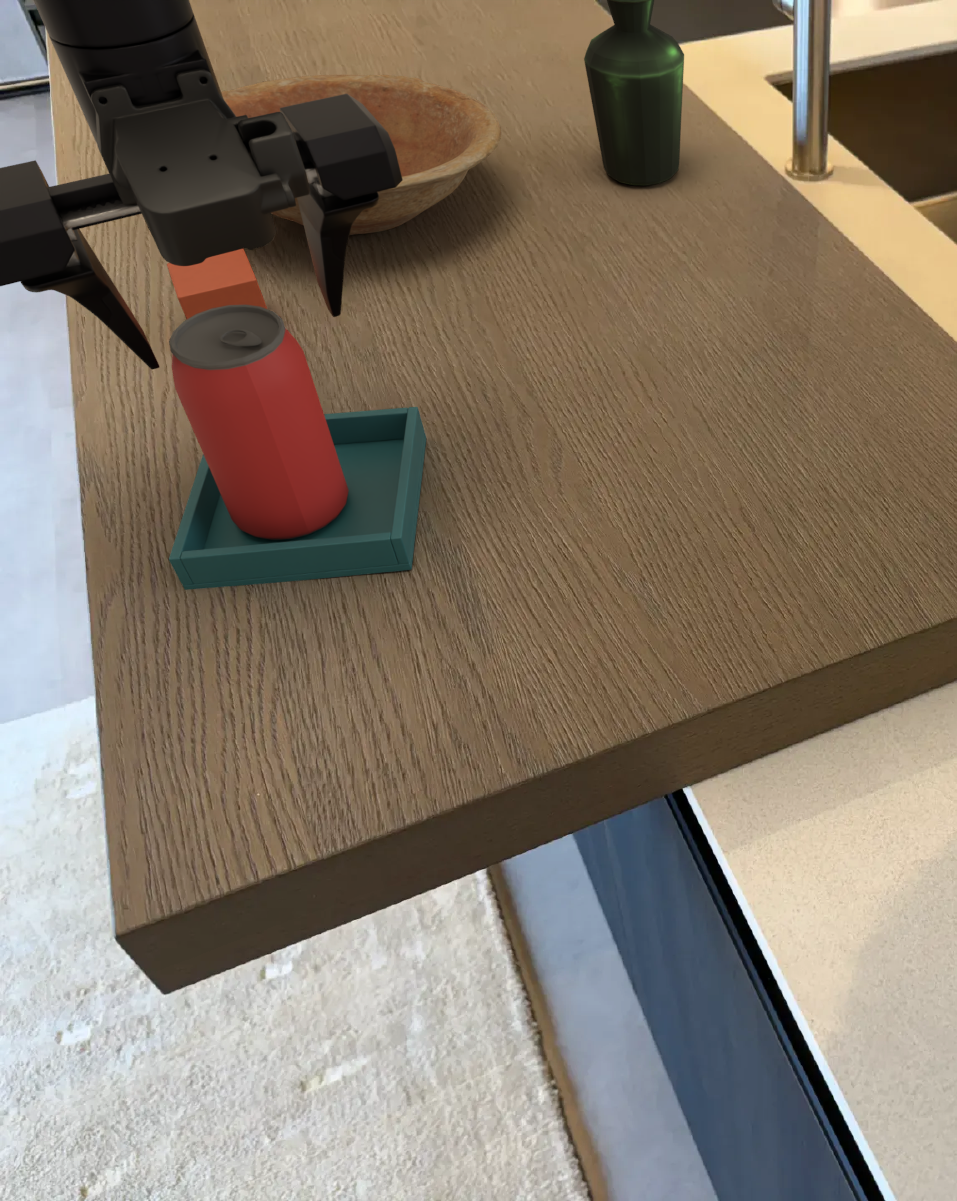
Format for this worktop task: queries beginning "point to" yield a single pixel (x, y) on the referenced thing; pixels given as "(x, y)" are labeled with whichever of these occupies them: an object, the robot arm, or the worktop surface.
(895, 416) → the worktop surface
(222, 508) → the tray
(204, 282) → the terracotta block
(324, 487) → the beer can
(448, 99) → the bowl
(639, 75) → the potion bottle
